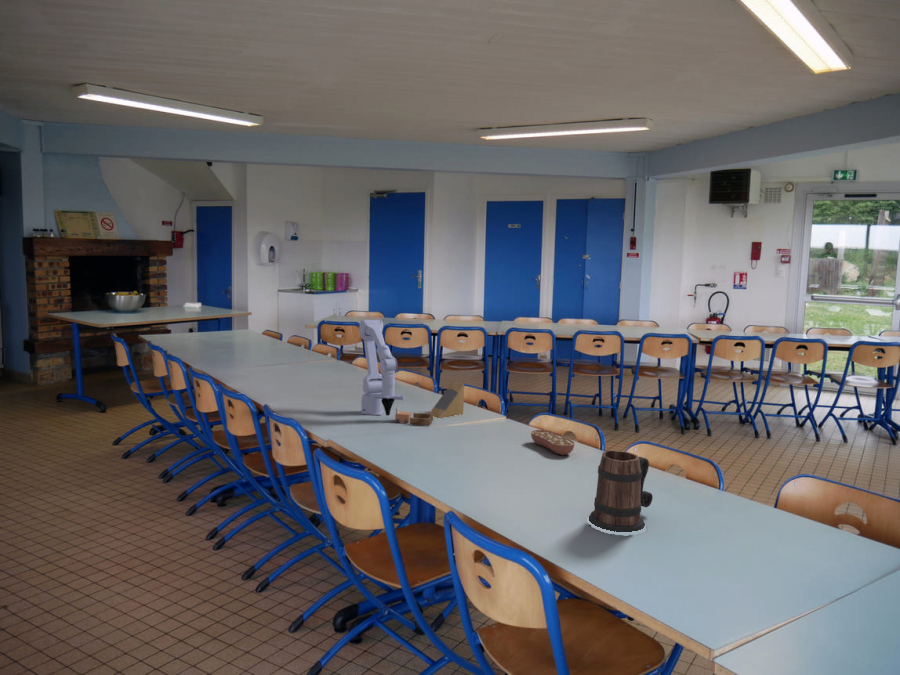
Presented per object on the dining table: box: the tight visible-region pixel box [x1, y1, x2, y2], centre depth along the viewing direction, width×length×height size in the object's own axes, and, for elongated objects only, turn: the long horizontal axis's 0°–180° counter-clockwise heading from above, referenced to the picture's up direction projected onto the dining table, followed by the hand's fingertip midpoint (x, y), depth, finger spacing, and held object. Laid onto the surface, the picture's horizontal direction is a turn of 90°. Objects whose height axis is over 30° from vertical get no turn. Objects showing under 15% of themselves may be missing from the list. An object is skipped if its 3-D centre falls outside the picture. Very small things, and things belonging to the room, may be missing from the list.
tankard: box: [588, 450, 653, 532], centre depth 184 cm, size 24×17×20 cm
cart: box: [394, 406, 412, 424], centre depth 289 cm, size 6×6×6 cm
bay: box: [409, 412, 434, 426], centre depth 288 cm, size 9×10×3 cm
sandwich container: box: [428, 381, 465, 419], centre depth 303 cm, size 9×15×15 cm, turn 130°
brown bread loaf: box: [530, 429, 575, 456], centre depth 253 cm, size 23×10×5 cm, turn 25°
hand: (387, 415), depth 289 cm, fingers closed
